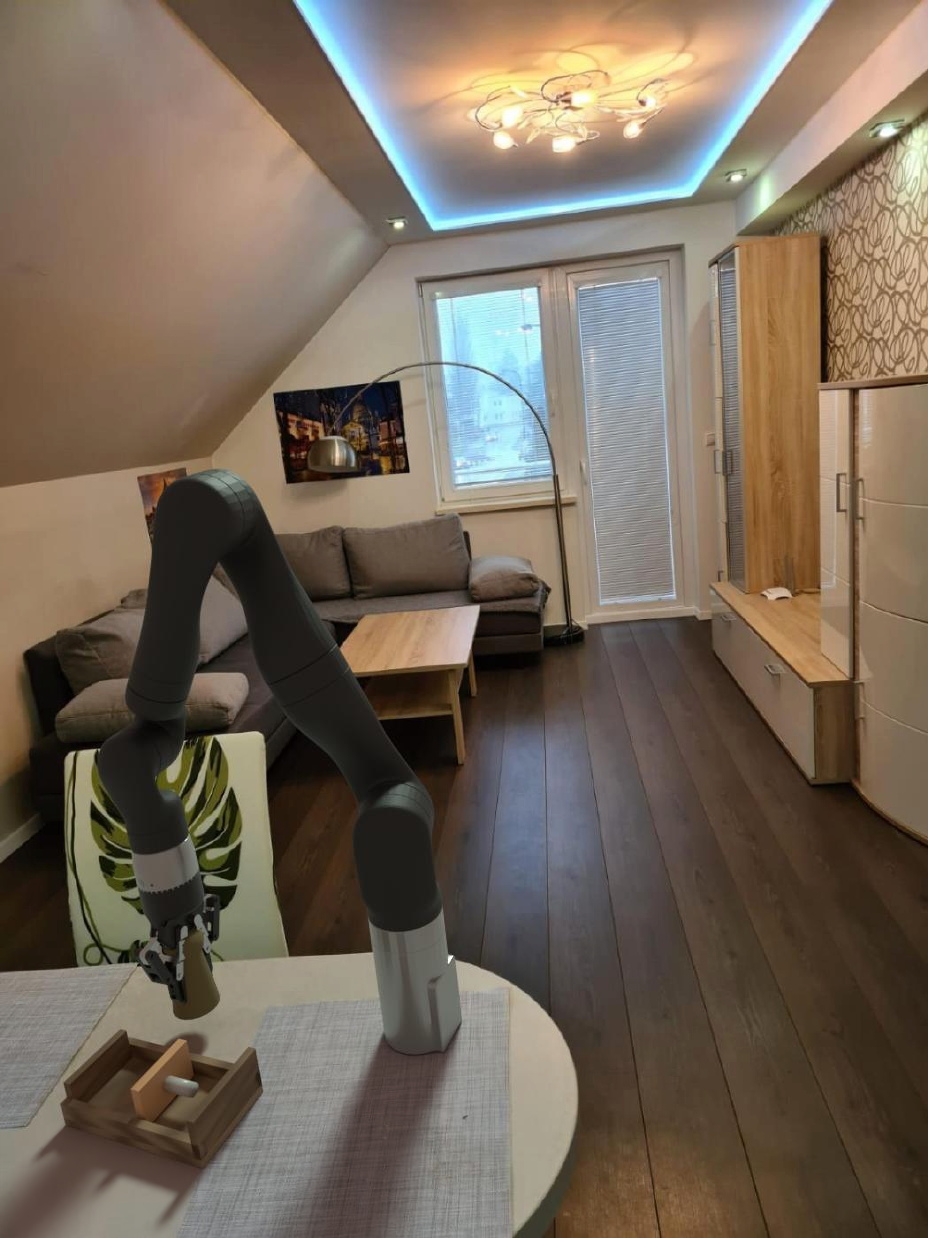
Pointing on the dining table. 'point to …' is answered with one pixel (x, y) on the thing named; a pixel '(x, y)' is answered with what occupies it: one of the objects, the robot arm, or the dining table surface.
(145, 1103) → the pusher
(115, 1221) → the dining table surface
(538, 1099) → the dining table surface
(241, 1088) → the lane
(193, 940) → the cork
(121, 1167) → the dining table surface
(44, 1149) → the dining table surface
